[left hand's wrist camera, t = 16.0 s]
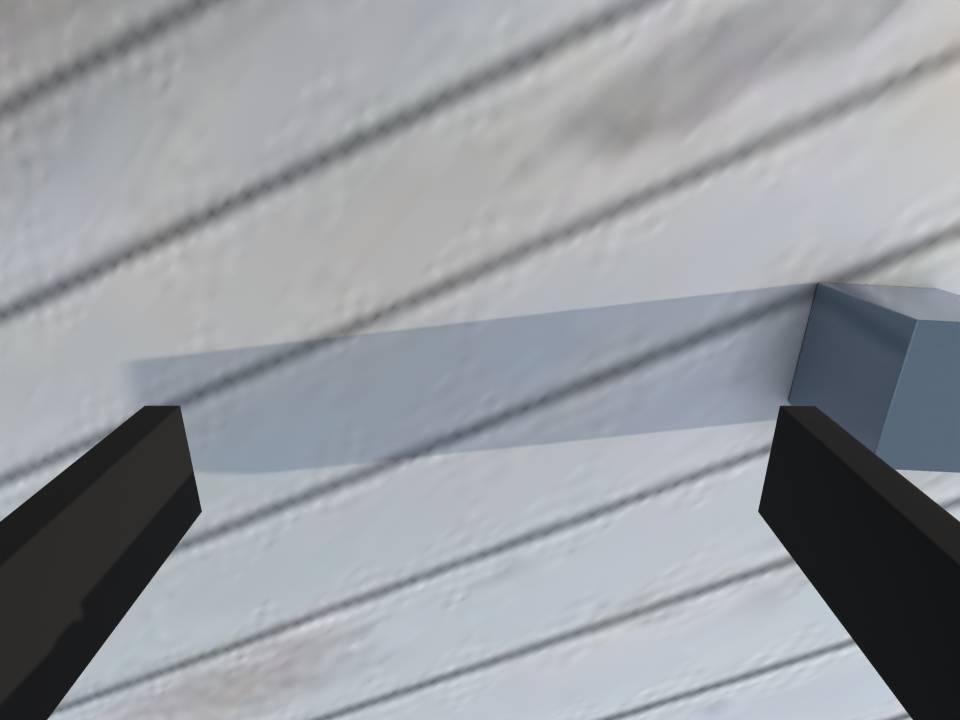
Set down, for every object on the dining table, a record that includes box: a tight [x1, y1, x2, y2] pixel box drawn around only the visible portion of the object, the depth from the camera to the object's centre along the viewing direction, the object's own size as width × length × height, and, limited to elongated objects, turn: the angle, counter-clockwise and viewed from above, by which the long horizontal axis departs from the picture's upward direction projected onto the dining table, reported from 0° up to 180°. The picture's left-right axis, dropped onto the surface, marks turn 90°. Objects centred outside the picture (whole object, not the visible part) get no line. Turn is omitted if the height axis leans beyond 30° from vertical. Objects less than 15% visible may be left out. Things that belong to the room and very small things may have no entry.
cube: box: [789, 282, 960, 473], centre depth 27 cm, size 7×6×7 cm
